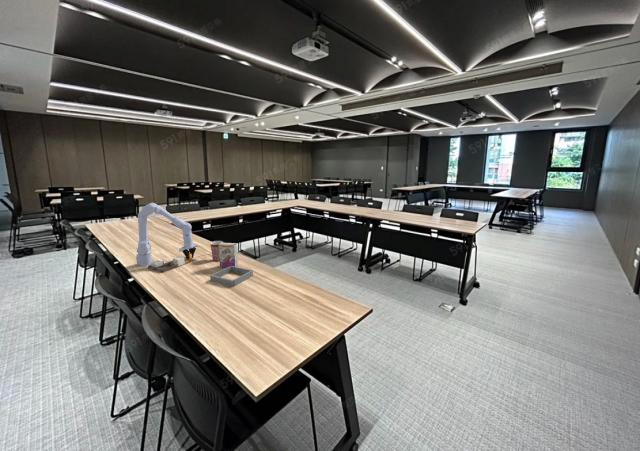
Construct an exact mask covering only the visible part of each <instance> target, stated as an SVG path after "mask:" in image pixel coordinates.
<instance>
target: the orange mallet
mask: <svg viewBox="0 0 640 451" xmlns="http://www.w3.org/2000/svg"><path fill="white" fill-rule="evenodd" d="M184 257H185V256H177V257H173V258H172V260H173V265H176V264H178V266H180V265H183V264H185V262H188V261H192V259H193V258H192V253H190V252H189V260H186V261H184ZM185 265H186V264H185ZM183 266H184V265H183ZM180 267H181V266H180Z"/></svg>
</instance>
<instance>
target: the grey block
mask: <svg viewBox="0 0 640 451" xmlns="http://www.w3.org/2000/svg"><path fill="white" fill-rule="evenodd" d="M162 261H163V260H156V261H152V263H151V266H153V267H158V266H161V265H163V262H162Z"/></svg>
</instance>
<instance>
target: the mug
mask: <svg viewBox="0 0 640 451" xmlns="http://www.w3.org/2000/svg"><path fill="white" fill-rule="evenodd" d="M220 243H224V241H222V240H214V241H211V242H210V243H209V245H210V250H211V256H212V261H213V262H216V263H218V262H219V263H220V260H219V247H218V245H219V244H220Z"/></svg>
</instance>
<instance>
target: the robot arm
mask: <svg viewBox="0 0 640 451" xmlns="http://www.w3.org/2000/svg"><path fill="white" fill-rule="evenodd" d="M151 214H155V215H162V216H163V217H165V218H166V219H168V220H170V221H171V224H173V225H174V226H175V227H177V228H179V229H180V230H181V231H182V238H183V246H182V247H181V248H180V247H179V248H178V252H180V253H183V255H184V257H186V259H188V260H189V253H192V259H194V256H195V252H196V250H197V248H196V247H199V244H198V243H193V233H192V225H191V223H189V222H187V221H185V220H183V219H182V217H181V216H174V215H173V214H172V213H170V212H168V211H167V210H166V209H164V208H163V207H162V206H161V205H158V204H157V203H155V202H150V203H147V204H146V205H144V206H142V207H141V210H140V211H139V212H138V213H137V223H138V224H137V225H138V238H139V239H138V243H137V244H138V246H137V248H136V253H137V254H136V256H135V258H136V259H135V260H136V265H137V266H140V267H148V266H149V265H151V263H152V262H153V258H152V252H151V249H152V246H151V242H150V240H149V230H148V229H149V228H148V217H149V216H150V215H151Z"/></svg>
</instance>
